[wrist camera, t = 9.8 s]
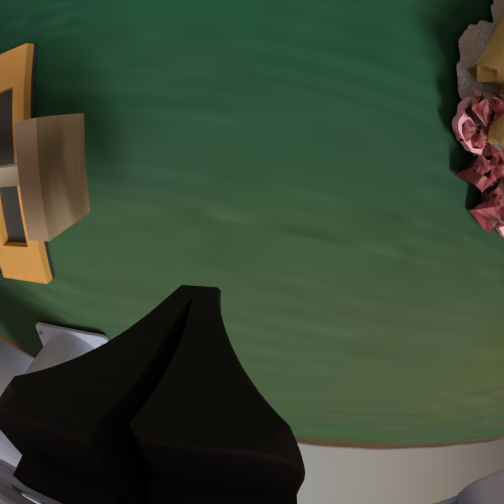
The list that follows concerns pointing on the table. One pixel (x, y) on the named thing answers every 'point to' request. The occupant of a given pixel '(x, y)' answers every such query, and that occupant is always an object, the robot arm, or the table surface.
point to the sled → (50, 173)
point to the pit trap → (4, 153)
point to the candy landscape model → (483, 115)
